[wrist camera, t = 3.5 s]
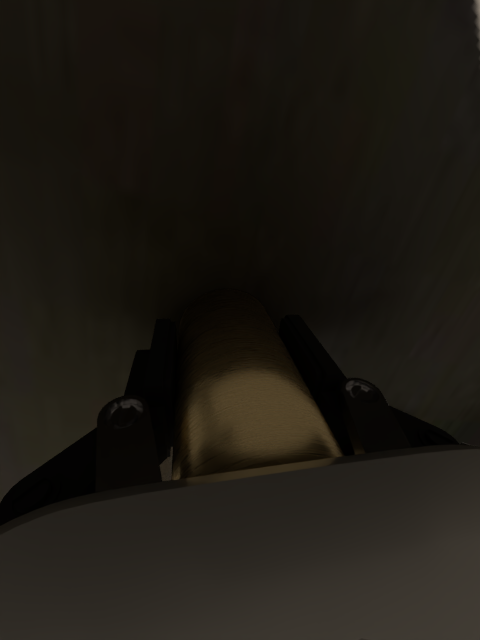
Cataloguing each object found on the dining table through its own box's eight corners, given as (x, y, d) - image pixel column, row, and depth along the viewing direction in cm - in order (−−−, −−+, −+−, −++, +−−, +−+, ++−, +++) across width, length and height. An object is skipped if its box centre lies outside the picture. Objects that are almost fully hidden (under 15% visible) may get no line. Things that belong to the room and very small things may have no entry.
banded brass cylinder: (176, 289, 11) (159, 475, 4) (274, 288, 12) (385, 445, 5) (181, 367, 13) (175, 572, 7) (263, 362, 14) (333, 541, 7)
